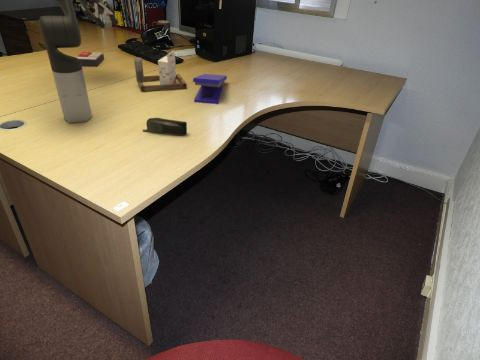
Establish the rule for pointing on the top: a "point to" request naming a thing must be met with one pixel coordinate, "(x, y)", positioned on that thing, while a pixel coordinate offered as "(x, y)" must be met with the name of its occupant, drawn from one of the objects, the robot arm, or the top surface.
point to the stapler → (209, 88)
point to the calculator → (90, 59)
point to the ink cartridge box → (167, 69)
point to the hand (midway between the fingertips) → (110, 25)
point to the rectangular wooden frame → (142, 78)
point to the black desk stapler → (166, 126)
